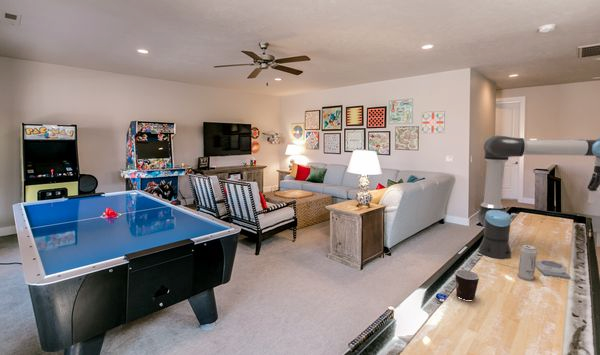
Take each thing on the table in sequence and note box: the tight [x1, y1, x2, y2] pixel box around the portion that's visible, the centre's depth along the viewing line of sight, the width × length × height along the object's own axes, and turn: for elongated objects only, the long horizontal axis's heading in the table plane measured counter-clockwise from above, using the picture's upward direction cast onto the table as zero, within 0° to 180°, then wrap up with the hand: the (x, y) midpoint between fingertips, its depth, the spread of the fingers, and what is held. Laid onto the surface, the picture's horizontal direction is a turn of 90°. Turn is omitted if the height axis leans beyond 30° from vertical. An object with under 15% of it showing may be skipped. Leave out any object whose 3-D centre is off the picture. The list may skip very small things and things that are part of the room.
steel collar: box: [536, 259, 568, 274], centre depth 149 cm, size 10×10×2 cm
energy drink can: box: [517, 244, 538, 281], centre depth 141 cm, size 6×6×15 cm
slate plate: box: [535, 261, 572, 280], centre depth 149 cm, size 10×14×1 cm
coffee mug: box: [454, 269, 480, 301], centre depth 124 cm, size 12×9×10 cm
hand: (598, 205), depth 163 cm, fingers open, 13 cm apart
